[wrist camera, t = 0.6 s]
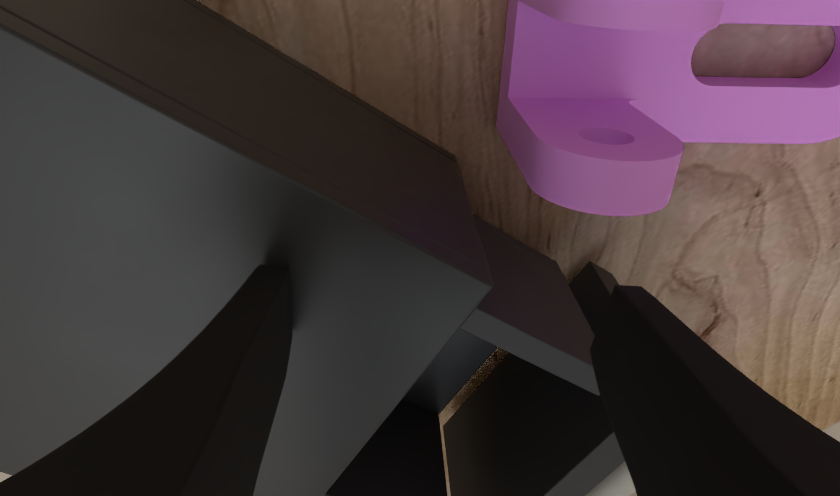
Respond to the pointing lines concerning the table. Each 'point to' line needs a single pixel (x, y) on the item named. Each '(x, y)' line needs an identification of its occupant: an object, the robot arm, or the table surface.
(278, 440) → the black box
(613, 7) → the bracket
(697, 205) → the table surface
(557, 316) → the drawer
